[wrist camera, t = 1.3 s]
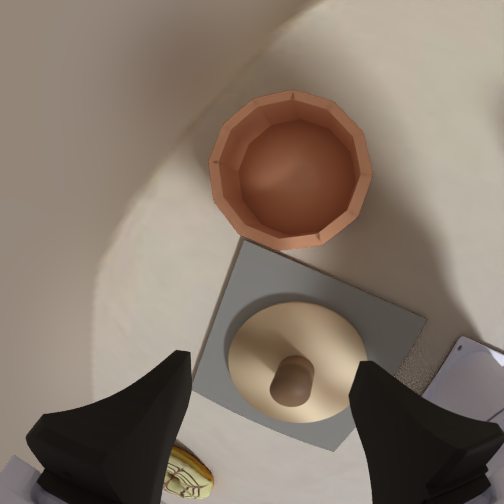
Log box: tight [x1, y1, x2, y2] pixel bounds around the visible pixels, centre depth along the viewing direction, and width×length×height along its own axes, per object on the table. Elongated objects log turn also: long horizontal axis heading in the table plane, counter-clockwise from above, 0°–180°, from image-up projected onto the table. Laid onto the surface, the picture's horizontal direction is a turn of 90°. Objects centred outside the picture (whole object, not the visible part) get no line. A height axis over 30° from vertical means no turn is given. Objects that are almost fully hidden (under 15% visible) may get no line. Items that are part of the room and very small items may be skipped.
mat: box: [192, 240, 427, 452], centre depth 22 cm, size 16×16×1 cm
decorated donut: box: [163, 446, 214, 499], centre depth 27 cm, size 10×11×4 cm
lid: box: [228, 301, 367, 423], centre depth 20 cm, size 12×12×4 cm
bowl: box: [208, 90, 373, 251], centre depth 18 cm, size 10×10×4 cm
